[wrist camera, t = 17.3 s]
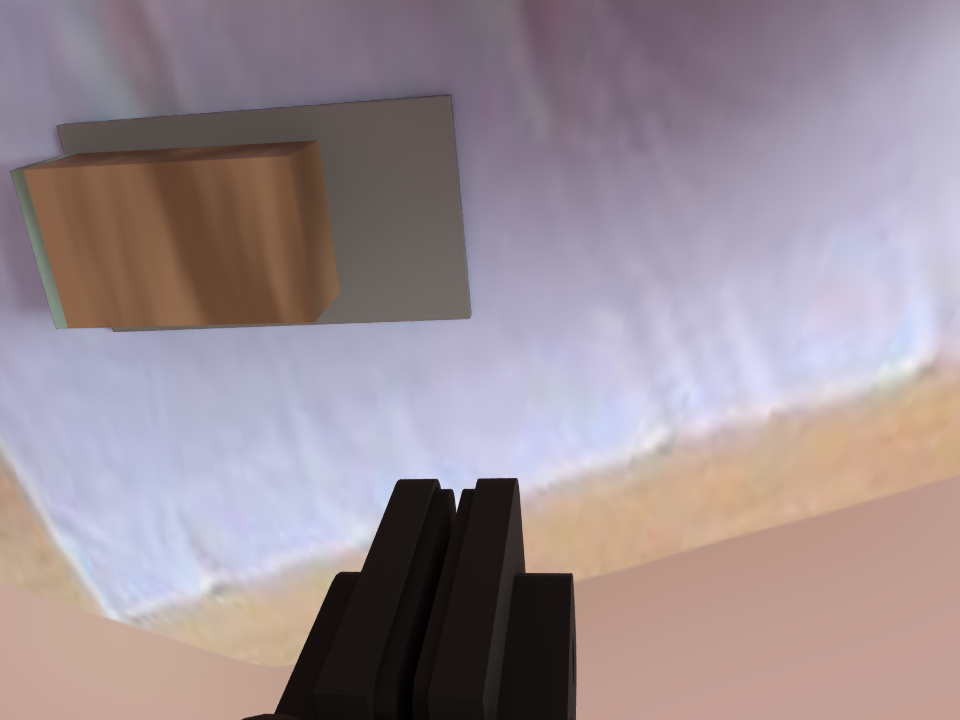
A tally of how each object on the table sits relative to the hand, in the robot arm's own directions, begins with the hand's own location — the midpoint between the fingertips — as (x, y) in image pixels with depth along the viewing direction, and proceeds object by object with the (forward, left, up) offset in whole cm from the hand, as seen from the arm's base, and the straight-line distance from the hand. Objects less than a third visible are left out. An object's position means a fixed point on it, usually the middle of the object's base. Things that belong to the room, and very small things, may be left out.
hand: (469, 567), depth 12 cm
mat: (+13, +1, -27) cm, 30 cm away
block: (+10, +1, -24) cm, 26 cm away
